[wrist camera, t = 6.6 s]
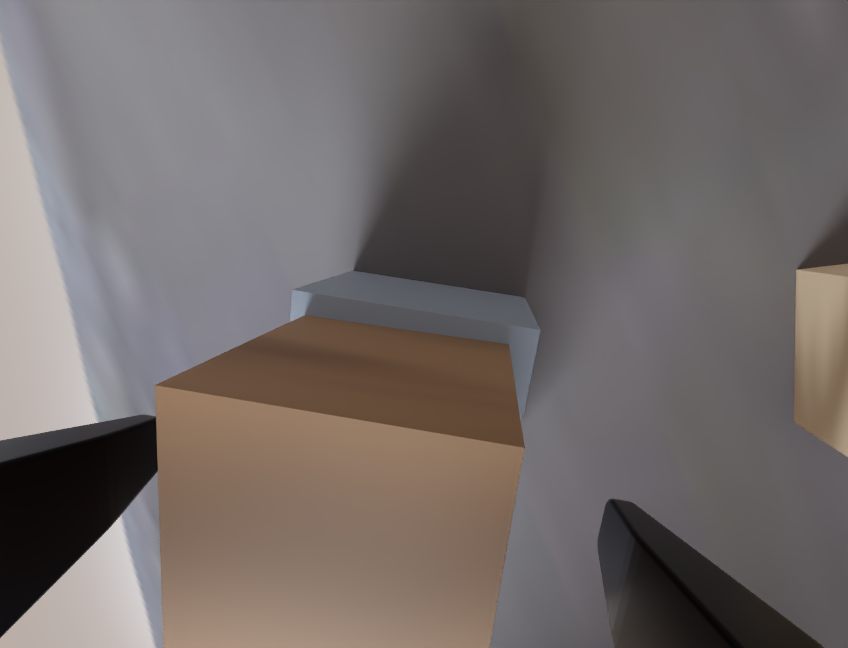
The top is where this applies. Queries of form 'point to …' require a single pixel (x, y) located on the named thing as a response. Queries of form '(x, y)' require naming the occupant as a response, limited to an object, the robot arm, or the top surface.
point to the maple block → (822, 354)
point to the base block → (428, 313)
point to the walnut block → (337, 490)
